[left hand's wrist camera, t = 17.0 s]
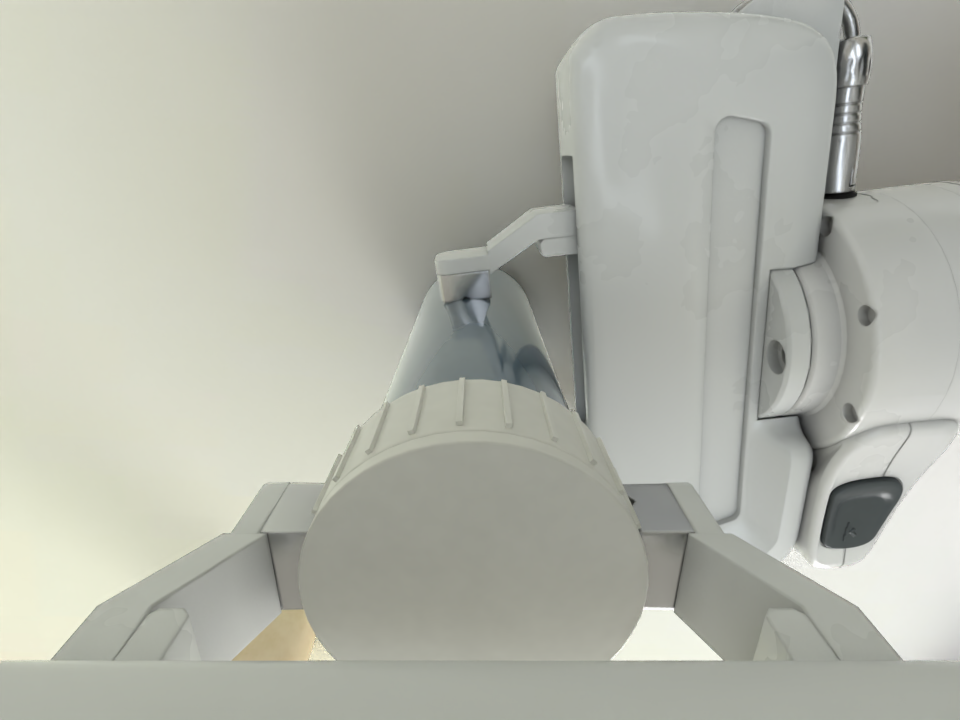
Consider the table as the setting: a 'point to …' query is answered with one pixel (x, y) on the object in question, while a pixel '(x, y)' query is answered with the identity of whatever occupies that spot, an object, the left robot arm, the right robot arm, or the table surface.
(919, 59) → the table surface
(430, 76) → the table surface
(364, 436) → the lid
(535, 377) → the jar
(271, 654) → the candle
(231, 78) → the table surface
